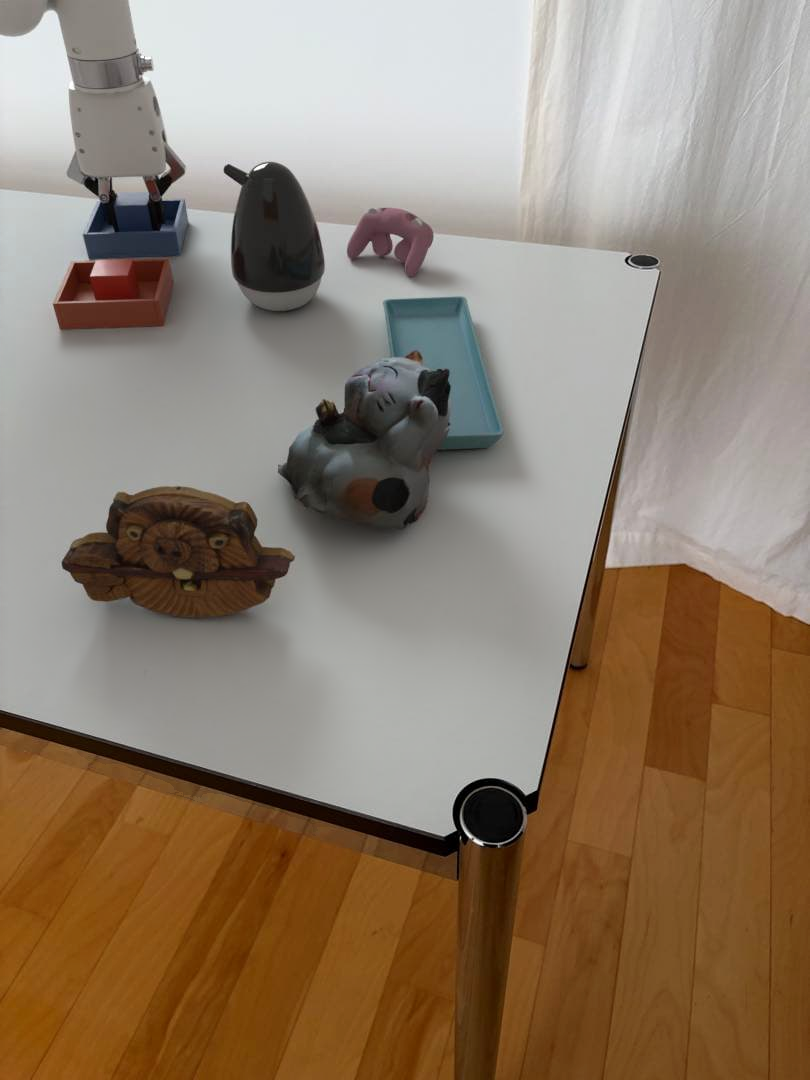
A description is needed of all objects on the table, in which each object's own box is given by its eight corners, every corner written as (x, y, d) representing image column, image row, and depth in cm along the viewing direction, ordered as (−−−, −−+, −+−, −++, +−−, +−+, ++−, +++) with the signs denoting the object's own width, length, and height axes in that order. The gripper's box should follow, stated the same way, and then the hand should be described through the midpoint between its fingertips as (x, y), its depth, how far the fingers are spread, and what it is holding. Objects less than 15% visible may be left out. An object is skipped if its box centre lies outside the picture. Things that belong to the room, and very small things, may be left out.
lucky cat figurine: (270, 455, 80) (319, 305, 76) (393, 489, 84) (448, 349, 80) (285, 523, 67) (346, 347, 62) (431, 560, 71) (499, 397, 66)
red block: (97, 310, 99) (89, 276, 96) (104, 293, 101) (96, 259, 99) (134, 309, 99) (127, 275, 96) (140, 291, 102) (132, 258, 99)
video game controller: (428, 280, 108) (443, 220, 106) (410, 277, 105) (425, 215, 102) (360, 260, 112) (373, 202, 110) (341, 256, 108) (354, 196, 106)
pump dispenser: (261, 272, 106) (246, 139, 96) (341, 288, 104) (335, 153, 93) (217, 311, 99) (196, 173, 89) (302, 329, 97) (291, 188, 86)
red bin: (59, 329, 97) (52, 303, 94) (77, 285, 104) (71, 261, 102) (163, 325, 97) (158, 300, 95) (173, 282, 104) (169, 258, 102)
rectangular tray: (382, 315, 99) (382, 295, 97) (464, 312, 100) (465, 292, 98) (401, 461, 80) (401, 438, 78) (503, 456, 81) (505, 434, 79)
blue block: (120, 237, 111) (113, 205, 108) (125, 224, 114) (118, 192, 111) (153, 236, 111) (147, 204, 108) (157, 223, 114) (151, 191, 111)
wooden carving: (69, 628, 65) (31, 526, 58) (86, 583, 69) (52, 482, 62) (296, 629, 65) (285, 527, 59) (301, 584, 69) (291, 482, 62)
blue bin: (88, 258, 109) (82, 234, 107) (102, 223, 116) (97, 200, 114) (180, 255, 110) (176, 232, 108) (188, 221, 117) (184, 198, 115)
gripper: (185, 58, 103) (209, 215, 115) (36, 61, 102) (76, 219, 114) (178, 78, 97) (204, 240, 110) (21, 81, 96) (64, 244, 109)
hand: (138, 228), depth 112 cm, fingers closed on blue block, 4 cm apart
